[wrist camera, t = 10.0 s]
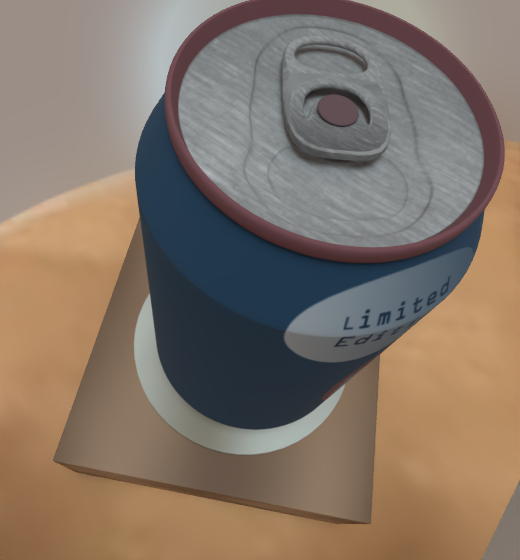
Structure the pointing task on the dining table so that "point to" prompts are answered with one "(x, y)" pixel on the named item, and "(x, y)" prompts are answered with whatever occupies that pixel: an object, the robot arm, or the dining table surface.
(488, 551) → the robot arm
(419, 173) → the soda can
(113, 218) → the dining table surface
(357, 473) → the plinth
